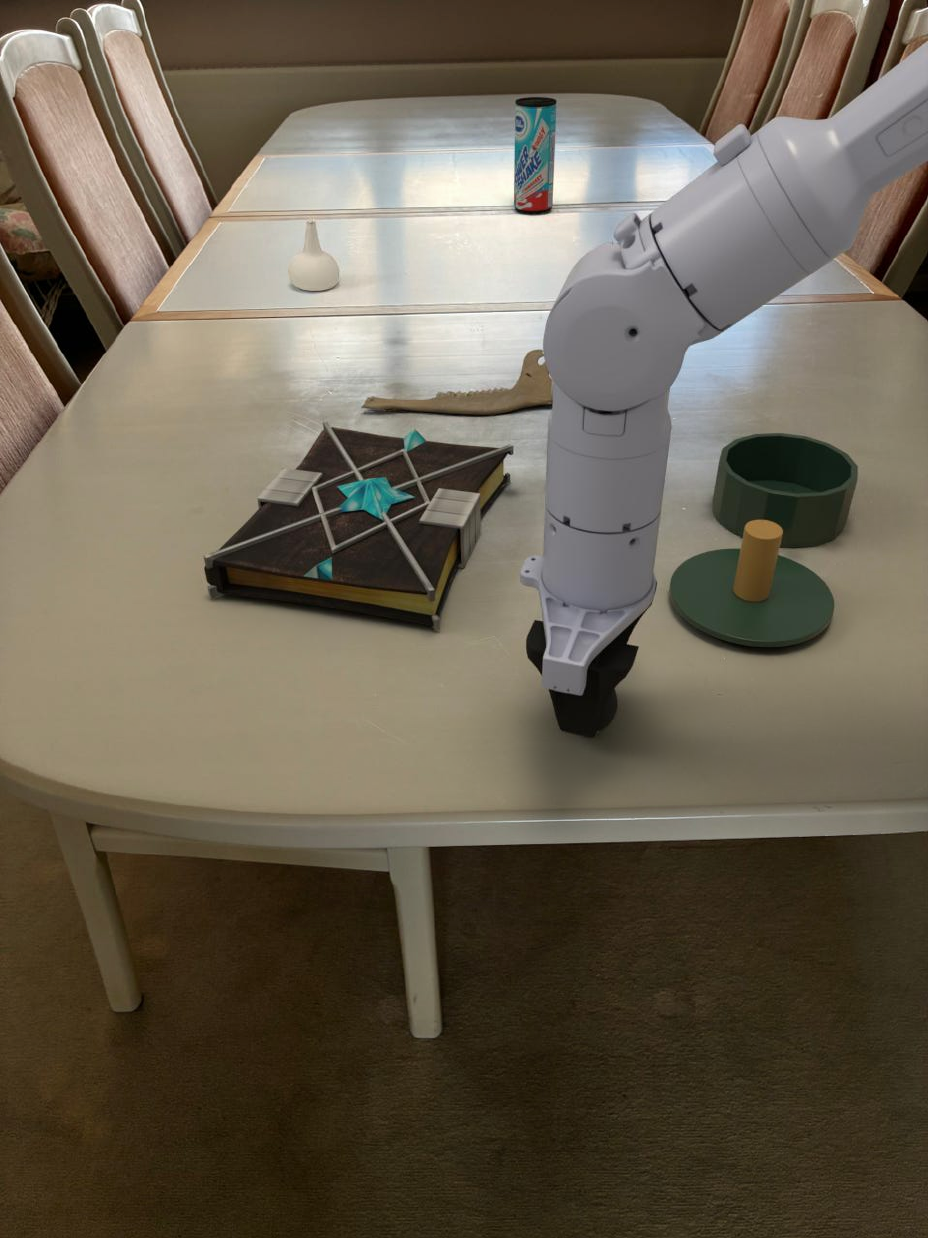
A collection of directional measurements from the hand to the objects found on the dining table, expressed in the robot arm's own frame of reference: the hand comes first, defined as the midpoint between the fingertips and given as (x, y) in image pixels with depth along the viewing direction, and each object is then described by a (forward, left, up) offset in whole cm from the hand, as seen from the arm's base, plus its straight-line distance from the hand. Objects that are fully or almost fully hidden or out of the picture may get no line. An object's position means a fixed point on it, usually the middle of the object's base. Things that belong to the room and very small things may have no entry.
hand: (586, 707), depth 56 cm
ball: (0, 0, 0) cm, 0 cm away
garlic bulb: (+50, -67, -2) cm, 84 cm away
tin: (-9, -28, -1) cm, 29 cm away
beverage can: (+33, -108, -2) cm, 113 cm away
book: (+20, -15, -2) cm, 25 cm away
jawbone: (+22, -42, -2) cm, 48 cm away
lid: (-8, -15, -1) cm, 17 cm away
